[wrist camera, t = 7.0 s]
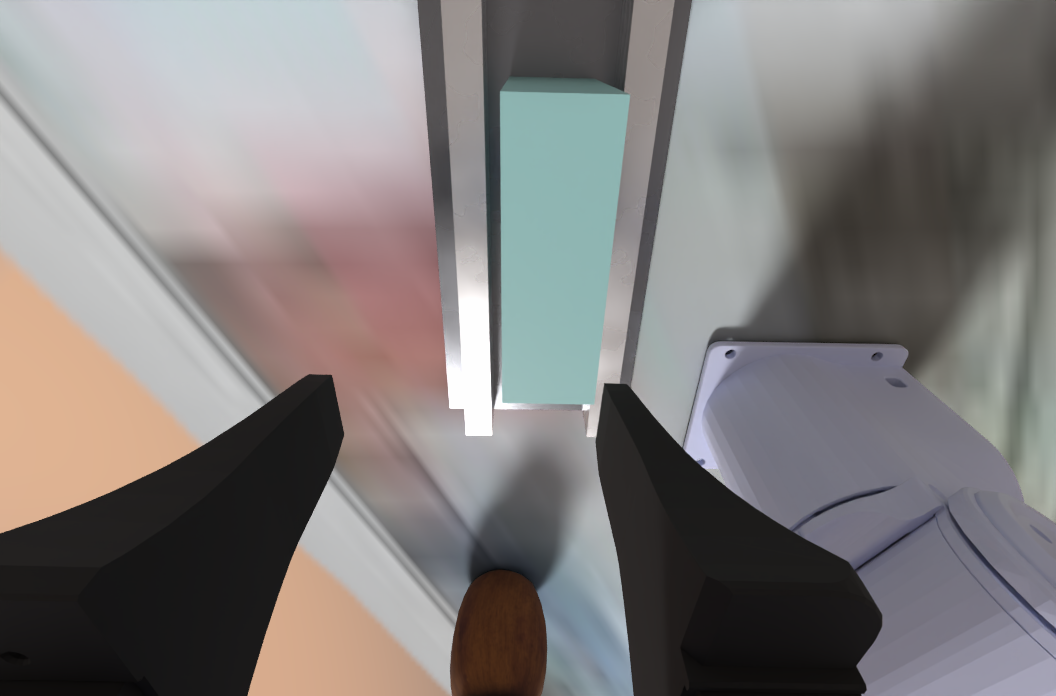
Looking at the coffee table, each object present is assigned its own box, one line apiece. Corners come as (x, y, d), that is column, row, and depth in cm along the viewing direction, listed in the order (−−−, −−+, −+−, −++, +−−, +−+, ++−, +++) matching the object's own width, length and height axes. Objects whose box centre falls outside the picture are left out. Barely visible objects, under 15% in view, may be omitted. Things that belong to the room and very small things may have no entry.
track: (718, -206, 14) (754, -253, 12) (624, 403, 26) (634, 437, 23) (404, -215, 14) (381, -265, 12) (451, 401, 25) (444, 434, 23)
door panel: (594, 78, 17) (630, 94, 11) (576, 307, 22) (594, 404, 16) (509, 76, 17) (499, 91, 11) (508, 306, 22) (502, 403, 16)
